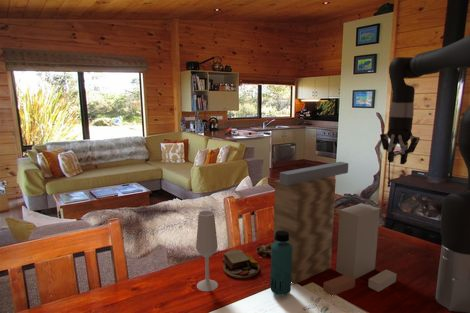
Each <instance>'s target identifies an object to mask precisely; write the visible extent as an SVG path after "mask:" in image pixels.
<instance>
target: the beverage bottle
mask: <svg viewBox="0 0 470 313" xmlns="http://www.w3.org/2000/svg"><path fill="white" fill-rule="evenodd" d="M275 240H277V241H276V242H274V243H273V242H272V245H271V255H270V277H269V278H270V282H269V285H270V286H269V288H270V291H271V292H272V293H273V294H274V295H278V296H287V295H288V294H290V293H291V290H292V283H291V272H292V271H291V270H292V269H291V265H292V245H291V244H290V243H288V242H287V241H289V233H288V232H287V231H283V230H280V231H277V232H276V234H275Z"/></svg>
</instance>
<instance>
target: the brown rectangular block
mask: <svg viewBox="0 0 470 313" xmlns="http://www.w3.org/2000/svg"><path fill="white" fill-rule="evenodd" d="M322 286H323V287H322V288H323V289H322V290H324V291H323V292H325V294H328V295H329V294H330V295H331V296H330V295H329V296H330V297H333V296H336V295H339V294H341V293H344V292H346V291H348V290H351V289H354V288H355V286H356V279H354V278H352V277H351V276H349V275H347V274H346V275H343V274H342V275H339V276H337V277H335V278H332V279H329V280H327V281H323V285H322ZM332 295H333V296H332Z"/></svg>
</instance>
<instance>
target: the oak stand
mask: <svg viewBox="0 0 470 313" xmlns="http://www.w3.org/2000/svg"><path fill="white" fill-rule="evenodd" d="M336 180H337V179H336V178H333V177H326V178H321V179H317V180H312V181H307V182H302V183H298V184H293V185H288V186H287V185H283V184H280V179H278V180H277V179H276V180H274V202H273V203H274V206H273V207H274V208H273V242H272V244H273V243H274V242H276V241H277V240H275V234H276V232H277V231H280V230H283V231H287V232H288V233H289V241H287V242H288V243H290V244H291V245H292V265H291V269H292V270H291V271H292V272H291V282H292V283H296V284H298V283H301V282H303V281H305V280H307V279H309V278H312V277H314V276H316V275H318V274H320V273H322V272H325V271H327V270H329V269H331V268H332V267H331V264H332V248H333V247H332V246H333V230H334V215H335V214H334V213H335V197H336V196H335V195H336ZM292 283H291V284H292Z"/></svg>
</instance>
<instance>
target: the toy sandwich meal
mask: <svg viewBox="0 0 470 313" xmlns="http://www.w3.org/2000/svg"><path fill="white" fill-rule="evenodd" d="M221 263H223V264H224V265H223V266H222V268H223V271H224V272H225V274H227V275H228V276H230V277H231V278H235V279H249V278H251V277H254V276H255V275H257V274H258V273H259V271H260V265H259V262H258V260H255V259H254V257H253V256H252V255H251V254H250V253H246V254H245V252H244V251H243V249H232V250H228V251H226V252H224V253H223V258H222V259H221Z"/></svg>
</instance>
